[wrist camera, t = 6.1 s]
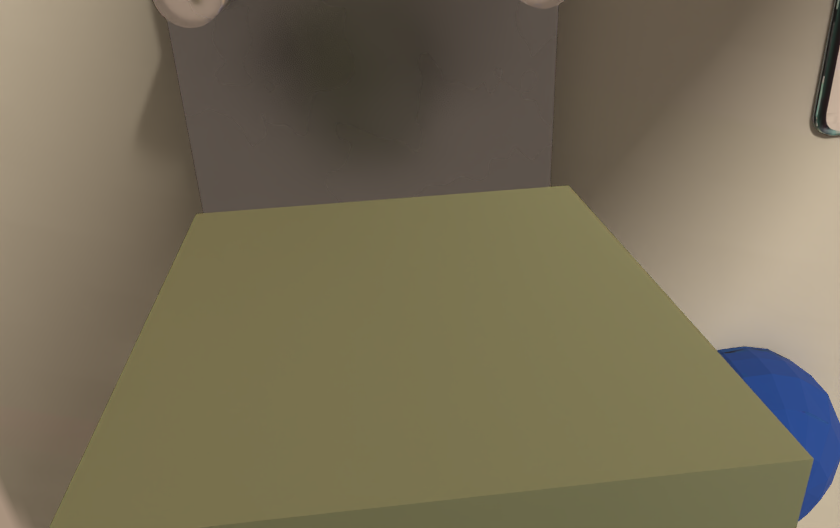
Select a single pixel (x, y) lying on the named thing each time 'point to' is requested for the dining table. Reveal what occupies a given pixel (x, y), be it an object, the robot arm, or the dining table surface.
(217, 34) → the chassis
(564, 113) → the dining table surface
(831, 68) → the smartphone
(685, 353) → the block
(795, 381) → the toy
